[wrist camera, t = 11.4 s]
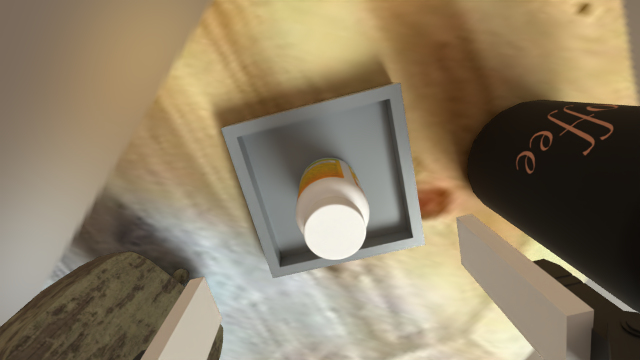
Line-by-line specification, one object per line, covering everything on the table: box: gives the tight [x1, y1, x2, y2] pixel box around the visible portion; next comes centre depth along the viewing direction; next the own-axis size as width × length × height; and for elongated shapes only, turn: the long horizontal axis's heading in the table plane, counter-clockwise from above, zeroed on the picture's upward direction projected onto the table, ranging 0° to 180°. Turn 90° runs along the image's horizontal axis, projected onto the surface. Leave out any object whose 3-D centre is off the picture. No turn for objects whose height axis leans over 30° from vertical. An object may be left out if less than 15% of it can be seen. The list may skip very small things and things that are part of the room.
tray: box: [221, 83, 425, 278], centre depth 27 cm, size 15×15×2 cm
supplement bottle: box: [296, 158, 369, 260], centre depth 23 cm, size 5×5×10 cm
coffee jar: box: [468, 100, 640, 313], centre depth 20 cm, size 11×11×18 cm
